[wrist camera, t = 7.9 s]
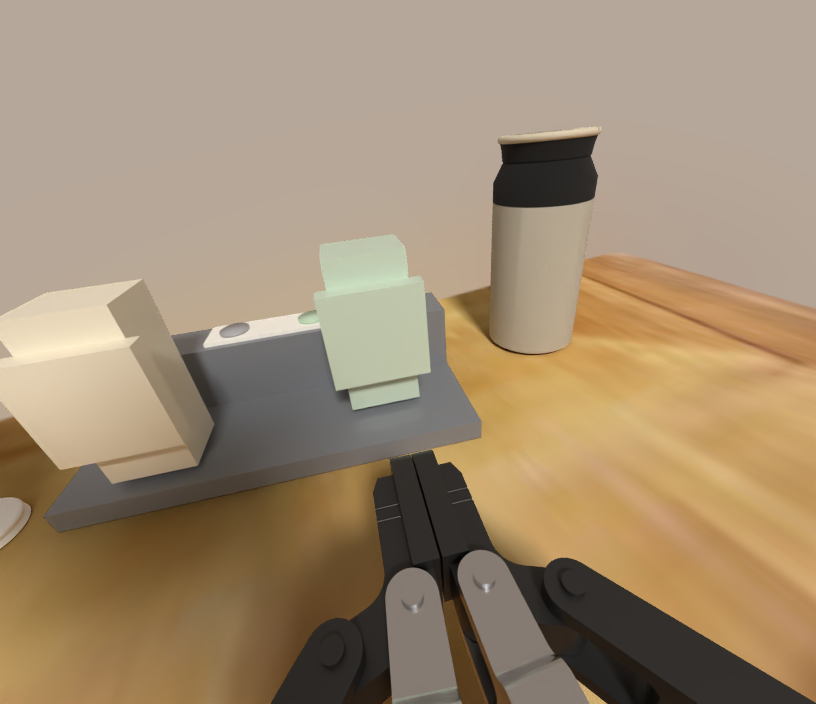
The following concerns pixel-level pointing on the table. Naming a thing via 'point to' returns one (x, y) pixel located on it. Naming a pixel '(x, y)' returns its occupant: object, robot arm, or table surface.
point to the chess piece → (12, 518)
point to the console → (278, 419)
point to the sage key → (373, 320)
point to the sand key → (102, 382)
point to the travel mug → (540, 237)
